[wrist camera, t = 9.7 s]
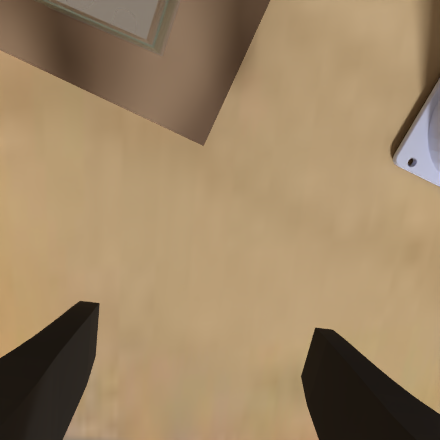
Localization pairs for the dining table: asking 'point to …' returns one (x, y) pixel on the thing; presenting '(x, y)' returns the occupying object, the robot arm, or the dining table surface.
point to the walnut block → (142, 58)
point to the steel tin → (124, 18)
